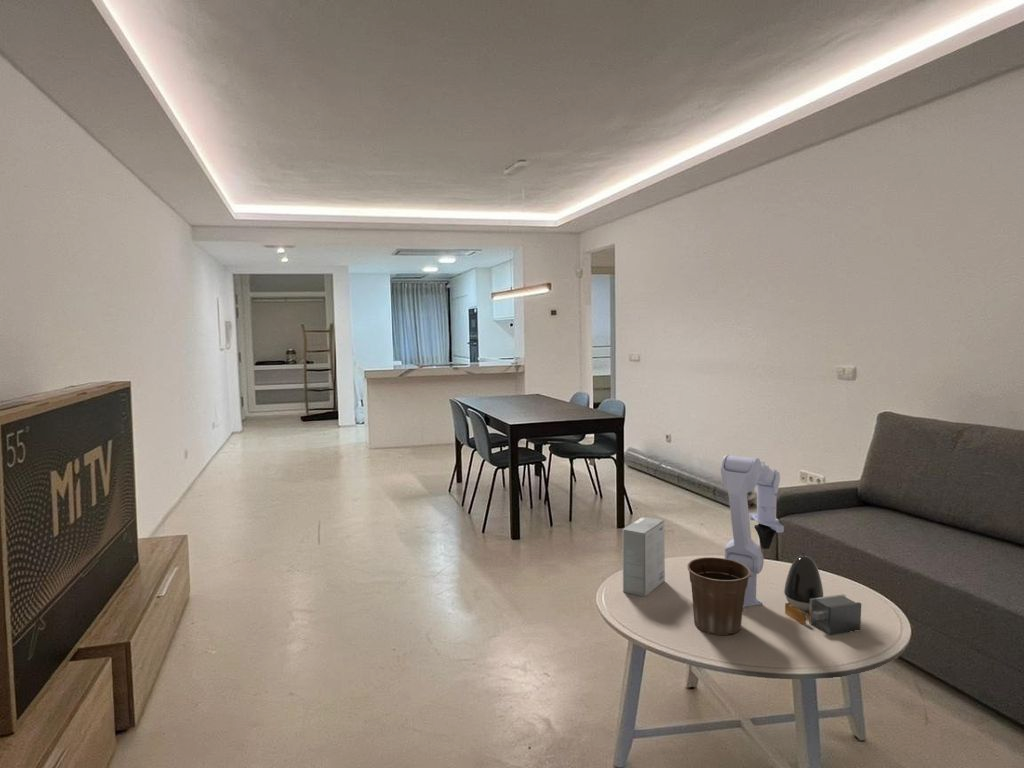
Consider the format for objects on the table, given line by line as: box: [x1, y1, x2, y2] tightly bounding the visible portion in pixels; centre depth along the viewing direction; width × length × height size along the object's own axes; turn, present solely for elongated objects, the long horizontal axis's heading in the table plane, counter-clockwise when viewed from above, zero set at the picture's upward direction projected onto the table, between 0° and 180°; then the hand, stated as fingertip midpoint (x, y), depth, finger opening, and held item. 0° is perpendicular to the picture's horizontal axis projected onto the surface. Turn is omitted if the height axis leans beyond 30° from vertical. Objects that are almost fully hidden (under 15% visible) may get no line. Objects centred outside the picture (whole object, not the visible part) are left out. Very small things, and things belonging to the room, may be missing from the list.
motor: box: [784, 593, 862, 636], centre depth 177 cm, size 15×14×7 cm
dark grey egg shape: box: [784, 552, 824, 612], centre depth 185 cm, size 10×10×15 cm
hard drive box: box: [622, 516, 666, 598], centre depth 201 cm, size 16×8×20 cm, turn 144°
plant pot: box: [686, 556, 751, 636], centre depth 174 cm, size 16×16×16 cm
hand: (765, 548), depth 205 cm, fingers closed
